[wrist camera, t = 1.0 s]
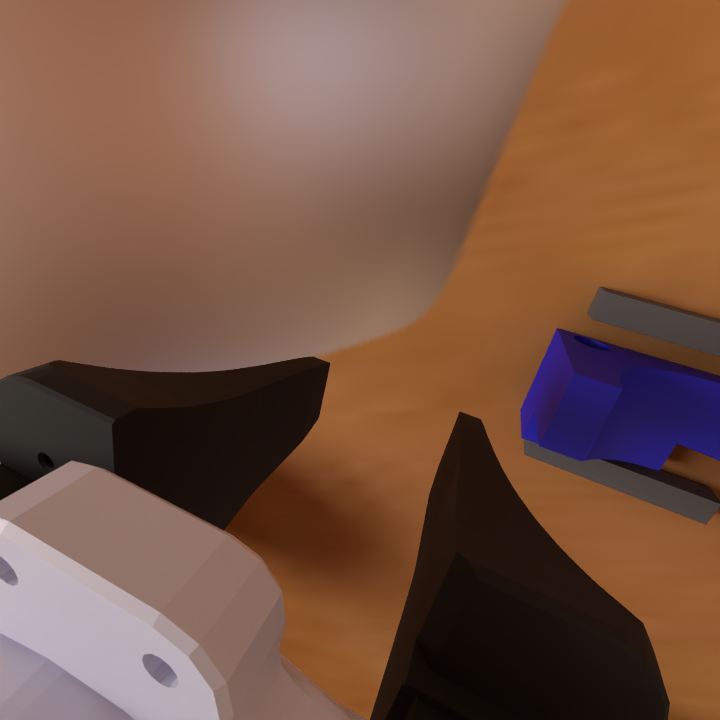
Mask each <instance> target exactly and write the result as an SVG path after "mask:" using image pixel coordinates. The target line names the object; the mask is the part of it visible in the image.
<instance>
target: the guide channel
mask: <svg viewBox="0 0 720 720" xmlns="http://www.w3.org/2000/svg"><path fill="white" fill-rule="evenodd" d="M587 313H588V314H589V316H590V317H591V318H592V319H593V320H597V321H600V322H604V323H607V324H610V325H614V326H617V327H621V328H624V329H627V330H631V331H634V332H637V333H641V334H644V335H648V336H651V337H654V338H658V339H661V340H665V341H668V342H671V343H675V344H678V345H682V346H685V347H688V348H692V349H695V350H698V351H702V352H705V353H709V354H712V355H715V356H719V357H720V320H719V319H715V318H712V317H708V316H705V315H701V314H697V313H694V312H690V311H686V310H683V309H679V308H676V307H672V306H668V305H665V304H661V303H657V302H654V301H650V300H647V299H643V298H639V297H636V296H632V295H628V294H625V293H621V292H618V291H614V290H610V289H607V288H603V287H600V288H599V290H598V292H597V294H596V296H595V298H594V300H593V302H592V304H591V306H590V308H589V310H588V312H587ZM524 454H525V455H527V456H529V457H532V458H535V459H537V460H540V461H542V462H545V463H548V464H550V465H553V466H555V467H558V468H561V469H563V470H566V471H568V472H571V473H574V474H576V475H579V476H581V477H584V478H587V479H589V480H592V481H594V482H597V483H600V484H602V485H605V486H607V487H610V488H613V489H615V490H618V491H620V492H623V493H626V494H628V495H631V496H633V497H636V498H638V499H641V500H644V501H646V502H649V503H651V504H654V505H657V506H659V507H662V508H664V509H667V510H670V511H672V512H675V513H677V514H680V515H683V516H685V517H688V518H690V519H693V520H696V521H698V522H701V523H703V524H707V523H708V521H709V520H710V519H711V518H712V516H713V515H714V514H715V513H716V512H717V510H718V509H719V508H720V501H719V500H718V498H717V497H716V496H715V494H714V493H713V491H712V490H711V489H710V488H709V487H706V486H704V485H701V484H698V483H696V482H693V481H690V480H687V479H685V478H682V477H679V476H676V475H674V474H671V473H668V472H665V471H663V470H659V471H657V470H654V469H651V468H648V467H644V466H641V465H637V464H633V463H629V462H624V461H619V460H611V459H591V460H585V461H584V460H583V462H581V461H578V460H576V459H573V458H570V457H567V456H565V455H562V454H559V453H556V452H554V451H551V450H548V449H545V448H543V447H540V446H539V444H537V443H534V442H531V441H529V440H526V439H525V441H524Z"/></svg>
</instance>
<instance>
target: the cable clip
mask: <svg viewBox="0 0 720 720" xmlns="http://www.w3.org/2000/svg"><path fill="white" fill-rule="evenodd" d="M521 434H522V438H523V439H526V440H529V441H531V442H534V443H537V444H539V446H540V447H543V448H545V449H548V450H551V451H554V452H556V453H559V454H562V455H565V456H567V457H570V458H573V459H576V460H578V461H581V462H583V460H584V461H585V460H591V459H611V460H619V461H624V462H629V463H633V464H637V465H641V466H644V467H648V468H651V469H654V470H657V471H659V470H660V468H661V467H662V465H663V464H664V462H665V461H666V459H667V458H668V456H669V455H670V453H671V452H672V450H673V449H674V447H675V446H676V444H679V445H682V446H684V447H687V448H690V449H692V450H695V451H698V452H700V453H702V454H705V455H707V456H710V457H712V458H714V459H717V460H719V461H720V376H718V375H715V374H711V373H708V372H704V371H701V370H698V369H694V368H691V367H687V366H684V365H681V364H677V363H674V362H670V361H667V360H664V359H660V358H657V357H653V356H650V355H647V354H643V353H640V352H636V351H633V350H629V349H626V348H623V347H619V346H616V345H612V344H609V343H606V342H602V341H599V340H595V339H592V338H589V337H585V336H582V335H578V334H575V333H572V332H568V331H565V330H561V329H558V328H557V330H556V332H555V334H554V336H553V339H552V341H551V343H550V345H549V348H548V350H547V352H546V354H545V356H544V359H543V361H542V363H541V365H540V368H539V370H538V372H537V374H536V377H535V379H534V381H533V383H532V385H531V388H530V390H529V392H528V394H527V397H526V399H525V401H524V403H523V406H522V408H521Z"/></svg>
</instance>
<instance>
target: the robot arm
mask: <svg viewBox="0 0 720 720" xmlns="http://www.w3.org/2000/svg"><path fill="white" fill-rule="evenodd" d="M329 367H330V363H329V362H326V361H323V360H321V359H318V358H315V357H303V358H297V359H292V360H287V361H281V362H276V363H271V364H266V365H260V366H254V367H247V368H240V369H234V370H225V371H214V372H213V371H212V372H195V373H194V372H193V373H191V372H188V373H185V372H180V373H179V372H178V373H177V372H146V371H132V370H123V369H114V368H106V367H99V366H92V365H86V364H79V363H72V362H66V361H62V360H57V361H53V362H49V363H46V364H43V365H40V366H37V367H34V368H31V369H28V370H24V371H21V372H18V373H15V374H12V375H9V376H7V377H5V378H3V379H1V380H0V462H1V463H2V464H0V720H366V719H364V718H363V717H361V716H359V715H358V714H356V713H354V712H353V711H351V710H349V709H348V708H346V707H344V706H343V705H341V704H339V703H337V702H336V701H335V700H334V699H333V698H331V697H330V696H329V695H328V694H327V693H326V692H325V691H323V690H322V689H321V688H320V687H319V686H318V685H317V684H315V683H314V682H313V681H312V680H311V679H310V678H309V677H307V676H306V675H305V674H304V673H303V672H302V671H300V670H299V669H298V668H297V667H296V666H295V665H294V664H292V663H291V662H290V661H289V660H288V659H287V658H286V657H284V656H283V655H282V654H281V653H280V644H281V639H282V635H283V631H284V626H285V622H286V620H285V612H284V604H283V597H282V591H281V588H280V585H279V584H278V582H277V581H276V579H275V577H274V576H273V574H272V573H271V571H270V570H269V568H268V567H267V565H266V564H265V562H264V561H263V559H262V558H261V557H260V556H259V555H258V554H256V553H255V552H254V551H253V550H251V549H250V548H249V547H247V546H246V545H245V544H243V543H242V542H241V541H239V540H238V539H237V538H235V537H234V536H233V535H231V534H229V533H227V532H225V531H224V529H225V528H226V527H227V525H228V524H229V523H230V521H231V520H232V519H233V517H234V516H235V515H236V514H237V512H238V511H239V510H240V508H241V507H242V506H243V504H244V503H245V502H246V501H247V499H248V498H249V497H250V496H251V495H252V493H253V492H254V491H255V490H256V489H257V488H258V487H259V486H260V485H261V483H262V482H263V481H264V480H265V479H266V478H267V477H268V476H269V475H270V474H271V473H272V472H273V471H274V470H275V469H276V468H277V467H278V466H279V465H280V464H281V463H282V462H283V461H284V460H285V459H286V458H287V457H288V456H289V455H290V453H291V452H292V451H293V450H294V449H295V448H296V447H297V446H298V445H299V444H300V443H301V442H302V441H303V439H304V438H305V437H306V435H307V434H308V433H309V431H310V430H311V428H312V427H313V425H314V424H315V423H316V421H317V420H318V418H319V414H320V410H321V405H322V400H323V395H324V391H325V386H326V381H327V377H328V372H329ZM669 704H670V702H669V699H668V696H667V693H666V690H665V687H664V683H663V680H662V676H661V673H660V669H659V666H658V662H657V659H656V656H655V653H654V650H653V647H652V645H651V642H650V639H649V637H648V634H647V632H646V629H645V627H644V624H643V623H642V622H641V621H640V620H639V619H638V618H637V617H635V616H634V615H633V614H632V613H631V612H630V611H628V610H627V609H626V608H625V607H624V606H622V605H621V604H620V603H619V602H618V601H617V600H615V599H614V598H613V597H612V596H611V595H610V594H608V593H607V592H606V591H605V590H604V589H603V588H601V587H600V586H599V585H598V584H597V583H596V582H595V581H594V580H592V579H591V578H590V577H589V576H588V575H587V574H586V573H585V572H584V571H583V570H582V569H581V568H580V567H579V566H578V565H577V564H576V563H575V562H574V561H573V560H572V559H571V558H570V557H569V556H568V555H567V554H566V553H565V552H564V551H563V550H562V549H561V548H560V547H559V546H558V544H557V543H556V542H555V541H554V540H553V539H552V538H551V537H550V535H549V534H548V533H547V532H546V531H545V530H544V528H543V527H542V526H541V525H540V524H539V523H538V521H537V520H536V519H535V518H534V516H533V515H532V514H531V512H530V511H529V510H528V508H527V507H526V505H525V504H524V503H523V501H522V500H521V498H520V497H519V496H518V494H517V493H516V491H515V490H514V488H513V486H512V485H511V483H510V481H509V480H508V478H507V476H506V474H505V473H504V471H503V469H502V467H501V465H500V463H499V461H498V459H497V457H496V455H495V453H494V450H493V448H492V446H491V443H490V441H489V438H488V436H487V433H486V431H485V428H484V425H483V423H482V421H481V419H478V418H476V417H473V416H470V415H468V414H465V413H462V412H459V415H458V418H457V420H456V423H455V425H454V428H453V430H452V433H451V436H450V438H449V441H448V443H447V446H446V448H445V451H444V454H443V456H442V459H441V461H440V464H439V466H438V469H437V473H436V476H435V479H434V482H433V485H432V488H431V491H430V494H429V499H428V504H427V510H426V515H425V520H424V525H423V531H422V536H421V542H420V547H419V552H418V558H417V563H416V567H415V571H414V576H413V579H412V583H411V586H410V590H409V593H408V596H407V600H406V603H405V606H404V610H403V613H402V616H401V620H400V623H399V626H398V630H397V633H396V636H395V640H394V643H393V646H392V650H391V653H390V656H389V660H388V663H387V666H386V669H385V673H384V676H383V679H382V682H381V686H380V689H379V692H378V695H377V699H376V702H375V705H374V708H373V711H372V715H371V718H370V720H668V713H669Z"/></svg>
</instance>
